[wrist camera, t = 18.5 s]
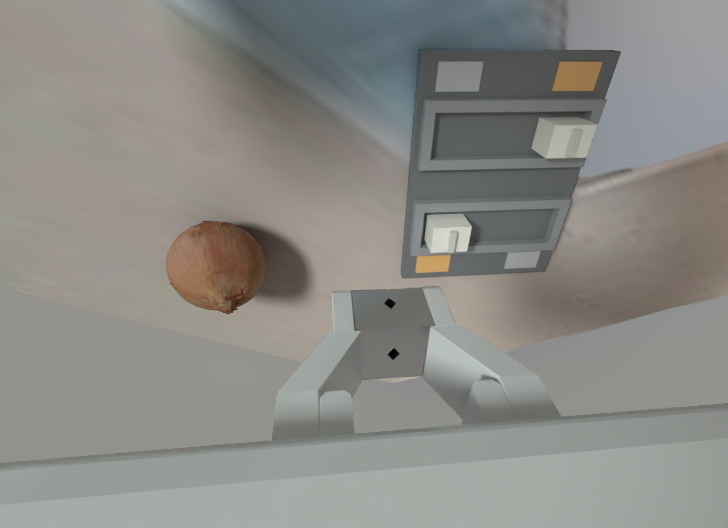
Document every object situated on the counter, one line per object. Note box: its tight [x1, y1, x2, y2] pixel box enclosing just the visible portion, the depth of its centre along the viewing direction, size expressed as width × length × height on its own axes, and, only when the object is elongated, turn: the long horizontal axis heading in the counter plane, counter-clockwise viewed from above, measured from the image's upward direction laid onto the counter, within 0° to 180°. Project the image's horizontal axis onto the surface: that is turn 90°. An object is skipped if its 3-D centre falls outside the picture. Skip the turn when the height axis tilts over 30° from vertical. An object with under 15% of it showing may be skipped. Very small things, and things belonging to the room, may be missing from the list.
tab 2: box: [531, 117, 598, 158], centre depth 35 cm, size 3×4×4 cm
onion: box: [166, 221, 266, 314], centre depth 38 cm, size 10×9×10 cm
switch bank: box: [401, 49, 621, 278], centre depth 40 cm, size 24×18×2 cm
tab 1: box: [424, 214, 472, 253], centre depth 40 cm, size 3×4×4 cm
